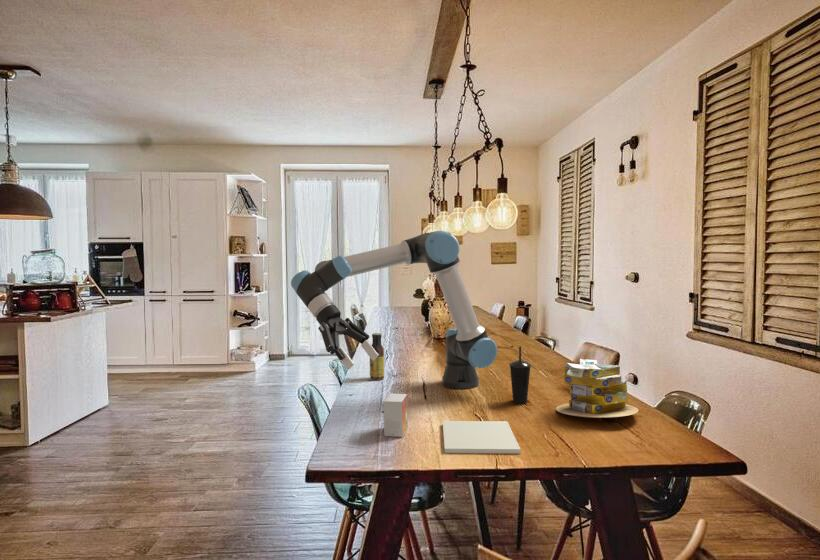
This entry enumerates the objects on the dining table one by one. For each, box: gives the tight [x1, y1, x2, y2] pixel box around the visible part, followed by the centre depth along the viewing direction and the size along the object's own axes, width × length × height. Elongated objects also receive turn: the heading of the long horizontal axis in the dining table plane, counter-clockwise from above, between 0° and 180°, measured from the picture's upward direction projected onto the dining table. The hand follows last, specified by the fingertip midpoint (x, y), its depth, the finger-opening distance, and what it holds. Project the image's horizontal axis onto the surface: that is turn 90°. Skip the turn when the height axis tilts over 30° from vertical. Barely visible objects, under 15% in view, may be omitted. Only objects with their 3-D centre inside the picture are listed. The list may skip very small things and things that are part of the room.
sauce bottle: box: [369, 332, 385, 381], centre depth 191 cm, size 7×6×20 cm
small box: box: [383, 393, 409, 438], centre depth 133 cm, size 8×6×10 cm
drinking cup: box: [508, 346, 532, 405], centre depth 159 cm, size 8×8×20 cm
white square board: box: [442, 420, 522, 455], centre depth 128 cm, size 20×20×1 cm
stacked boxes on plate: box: [555, 362, 639, 422], centre depth 146 cm, size 25×25×17 cm
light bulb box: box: [579, 358, 599, 365], centre depth 173 cm, size 11×7×11 cm, turn 160°
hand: (364, 362), depth 137 cm, fingers open, 13 cm apart
